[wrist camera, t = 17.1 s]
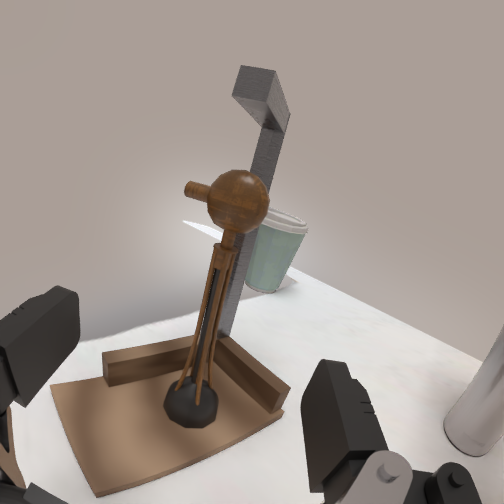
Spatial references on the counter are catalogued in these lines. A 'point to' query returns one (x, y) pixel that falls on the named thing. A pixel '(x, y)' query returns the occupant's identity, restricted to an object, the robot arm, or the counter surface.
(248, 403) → the stand
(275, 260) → the disposable coffee cup
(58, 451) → the counter surface
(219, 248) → the wooden tabletop sculpture
